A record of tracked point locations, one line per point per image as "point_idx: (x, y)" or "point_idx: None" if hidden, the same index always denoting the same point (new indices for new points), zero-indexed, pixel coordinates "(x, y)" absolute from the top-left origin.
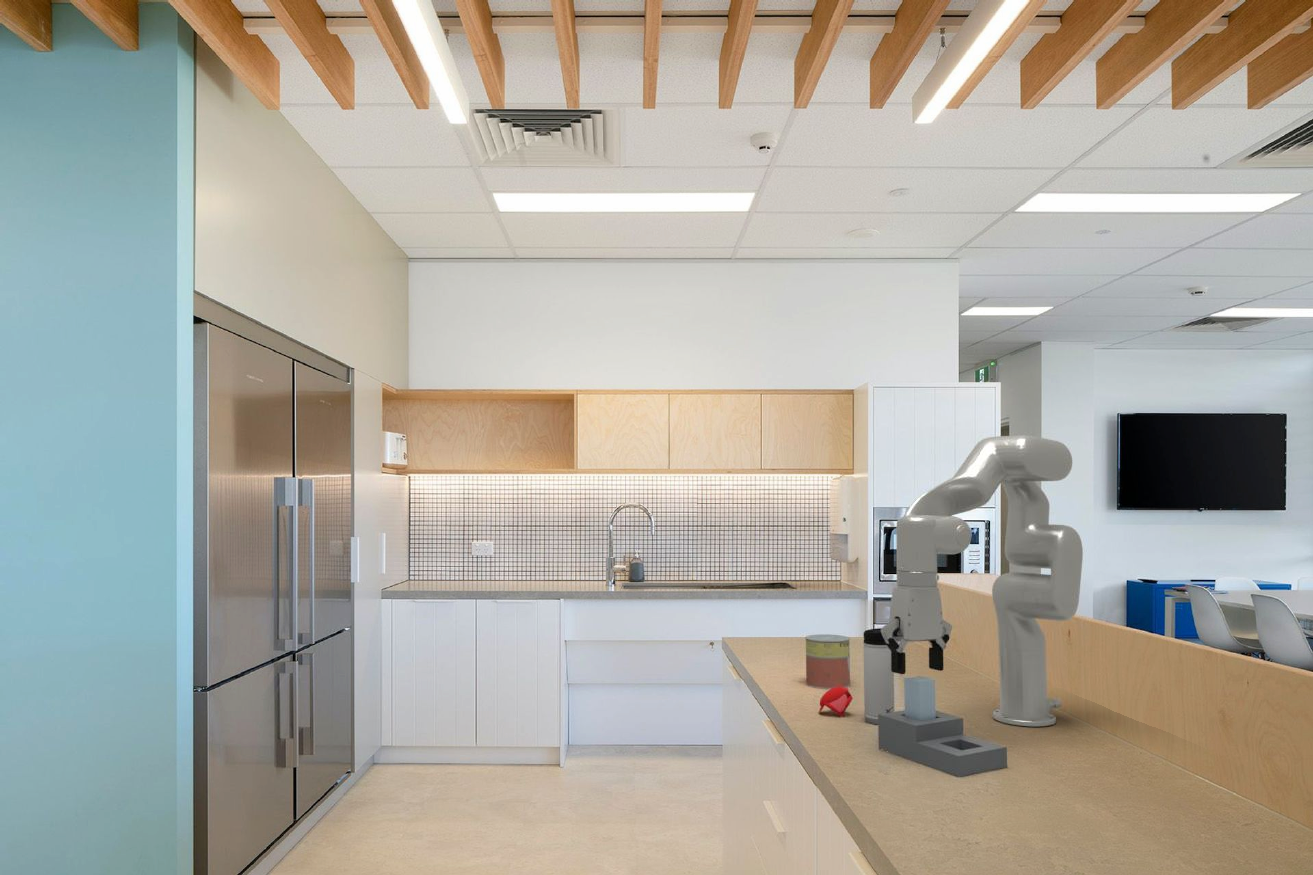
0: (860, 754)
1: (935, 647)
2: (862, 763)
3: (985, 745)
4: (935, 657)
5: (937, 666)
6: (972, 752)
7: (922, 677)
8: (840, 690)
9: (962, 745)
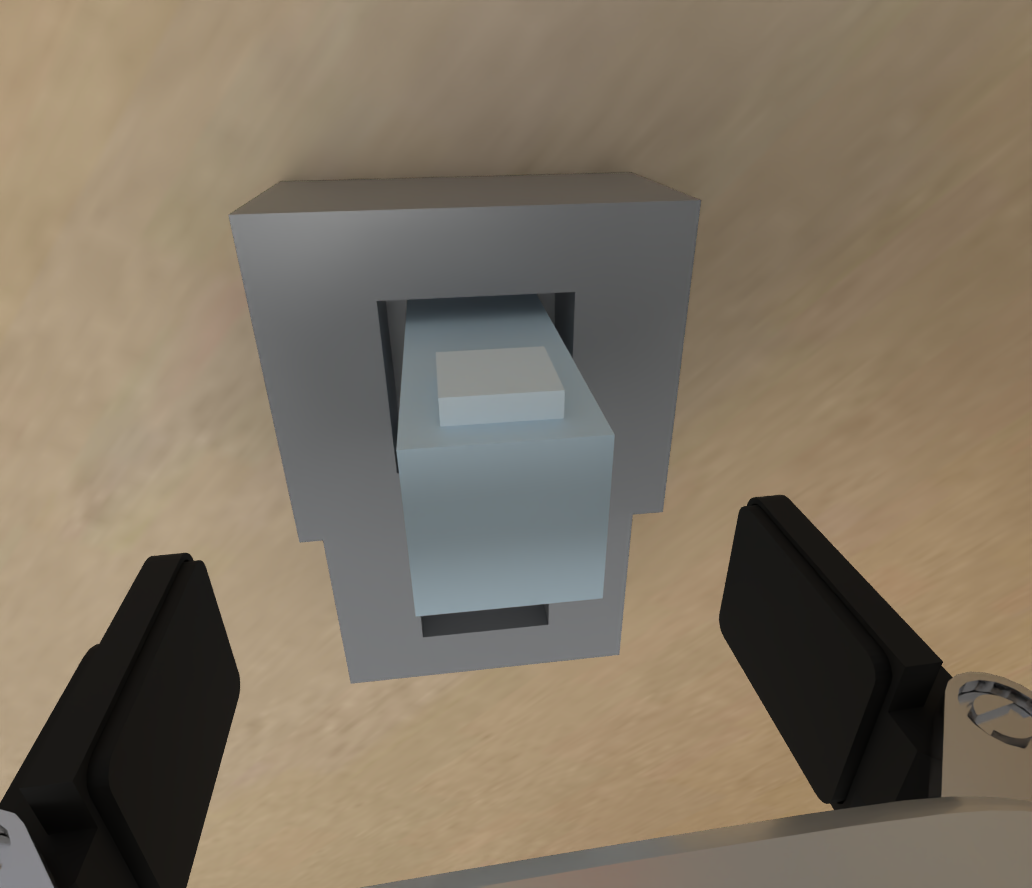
0: (113, 226)
1: (880, 772)
2: (49, 362)
3: (565, 618)
4: (788, 670)
5: (735, 621)
6: (439, 666)
7: (584, 494)
8: None
9: None
